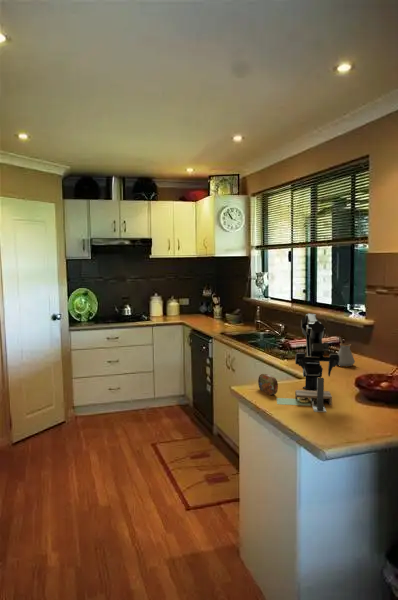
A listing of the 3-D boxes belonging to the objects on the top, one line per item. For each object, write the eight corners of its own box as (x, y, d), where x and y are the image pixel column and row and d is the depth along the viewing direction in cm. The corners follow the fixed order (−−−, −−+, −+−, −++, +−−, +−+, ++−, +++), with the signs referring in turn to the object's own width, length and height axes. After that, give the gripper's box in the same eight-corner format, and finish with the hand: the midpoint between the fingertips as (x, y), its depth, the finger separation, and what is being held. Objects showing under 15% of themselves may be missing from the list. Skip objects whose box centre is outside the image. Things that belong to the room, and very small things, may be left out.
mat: (276, 398, 211) (276, 397, 211) (308, 399, 209) (308, 399, 209) (277, 404, 202) (277, 404, 202) (310, 405, 200) (310, 405, 200)
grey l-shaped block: (310, 400, 207) (311, 370, 206) (321, 401, 207) (322, 370, 205) (314, 411, 193) (314, 379, 191) (326, 412, 192) (327, 379, 191)
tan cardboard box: (295, 398, 211) (295, 390, 210) (329, 399, 209) (329, 391, 208) (296, 404, 203) (296, 395, 202) (331, 405, 201) (331, 396, 200)
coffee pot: (356, 367, 269) (357, 342, 268) (336, 367, 270) (337, 342, 269) (347, 359, 290) (348, 336, 289) (329, 359, 291) (329, 336, 290)
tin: (257, 388, 227) (257, 372, 226) (263, 388, 228) (263, 371, 227) (272, 397, 213) (273, 379, 212) (278, 396, 214) (279, 378, 213)
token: (298, 400, 208) (299, 397, 208) (308, 400, 207) (308, 397, 207) (299, 403, 203) (299, 400, 203) (309, 403, 203) (310, 400, 203)
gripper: (296, 335, 205) (297, 365, 195) (339, 336, 203) (343, 366, 193) (294, 349, 214) (295, 378, 204) (336, 350, 211) (339, 380, 201)
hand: (318, 375), depth 200 cm, fingers open, 9 cm apart
